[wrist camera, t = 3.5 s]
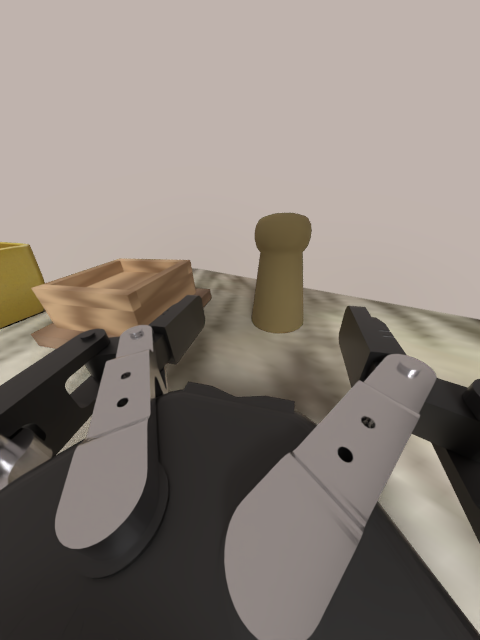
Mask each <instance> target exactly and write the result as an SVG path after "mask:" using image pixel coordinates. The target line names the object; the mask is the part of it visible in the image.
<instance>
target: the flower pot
mask: <svg viewBox="0 0 480 640" xmlns="http://www.w3.org/2000/svg"><path fill="white" fill-rule="evenodd" d="M42 284H45V282H44V279H43V277H42V274H41V271H40V269H39V266H38V264H37V262H36V259H35V257H34V254H33V252H32V249H31V247H30V245H29V244H21V243H7V242H0V328H2V327H5V326H7V325H9V324H12V323H14V322H17V321H19V320H22V319H24V318H27V317H30V316H32V315H35V314H38V313H40V312H42V311H43V310H44V307H43V306H42V304H41V303H40V301H39V300H38V298H37V297H36V295H35V293H34V292H33V290H32V289H31V288H33V287H36V286H39V285H42Z"/></svg>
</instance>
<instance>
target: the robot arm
mask: <svg viewBox="0 0 480 640" xmlns="http://www.w3.org/2000/svg"><path fill="white" fill-rule="evenodd" d="M204 324H205V316H204V310H203V303H202V299H201V297H200V296H198V295H186V296H185V297H184V298H183V299H182V300H181V301H179V302H178V303H176V304H174V305H172V306H170V307H169V308H168V309H167V310H166V311H165V312H163V313H162V315H160V316H159V317H157V318H156V319H155V320H154V321H153V322H151V323H150V324H149V325H138V326H134V327H131V328H129V329H127V330H126V331H124V332H123V333H122V334H121V336H120V337H108V335H107V333H106V331H105V330H104V329H92V330H88V331H85V332H83V333H80V334H78V335H77V336H75V337H74V338H72V339H71V340H69V341H68V342H66V343H65V344H63V345H62V346H60V347H59V348H57V349H56V350H54V351H52V352H51V353H49V354H48V355H46V356H45V357H43V358H42V359H40V360H39V361H37V362H36V363H34V364H33V365H31V366H30V367H28V368H27V369H25V370H24V371H22V372H21V373H19V374H18V375H16V376H14V377H13V378H11V379H10V380H8V381H7V382H5V383H4V384H2V385H1V386H0V640H480V634H479V633H478V631H477V630H476V629H475V628H474V626H473V625H472V624H471V622H470V621H469V620H468V618H467V617H466V616H465V615H464V613H463V612H462V611H461V609H460V608H459V607H458V605H457V604H456V603H455V601H454V600H453V599H452V598H451V596H450V595H449V594H448V592H447V591H446V590H445V588H444V587H443V586H442V584H441V583H440V582H439V581H438V579H437V578H436V577H435V575H434V574H433V573H432V571H431V570H430V569H429V568H428V566H427V565H426V564H425V562H424V561H423V560H422V558H421V557H420V556H419V554H418V553H417V552H416V551H415V549H414V548H413V547H412V545H411V544H410V543H409V541H408V540H407V539H406V537H405V536H404V535H403V534H402V532H401V531H400V530H399V528H398V527H397V526H396V524H395V523H394V522H393V521H392V519H391V518H390V517H389V515H388V514H387V513H386V511H385V510H384V509H383V507H382V506H381V505H380V504H379V502H378V499H379V497H380V495H381V493H382V491H383V489H384V487H385V485H386V483H387V481H388V479H389V477H390V475H391V473H392V471H393V469H394V467H395V465H396V463H397V461H398V459H399V457H400V455H401V453H402V451H403V449H404V447H405V445H406V443H407V441H408V439H409V437H410V436H411V434H414V435H416V436H418V437H421V438H423V439H425V440H427V441H430V442H431V443H432V445H433V447H434V449H435V451H436V453H437V455H438V458H439V460H440V462H441V464H442V466H443V468H444V470H445V472H446V474H447V476H448V478H449V480H450V483H451V485H452V487H453V489H454V491H455V493H456V495H457V497H458V499H459V501H460V503H461V506H462V508H463V510H464V512H465V514H466V516H467V518H468V520H469V522H470V524H471V526H472V529H473V531H474V533H475V535H476V537H477V539H478V541H479V543H480V379H477V380H475V381H474V382H473V383H472V384H471V385H470V386H469V387H468V388H467V387H464V386H461V385H457V384H454V383H451V382H448V381H444V380H441V379H438V378H437V377H436V374H435V372H434V371H433V370H432V369H431V368H430V367H429V366H428V365H427V364H425V363H424V362H422V361H420V360H418V359H416V358H413V357H410V356H407V355H406V353H405V352H404V351H403V349H402V348H401V346H400V345H399V343H398V342H397V340H396V339H395V338H394V336H393V335H392V333H391V332H390V330H389V329H388V327H387V326H386V324H385V323H383V322H382V321H380V320H379V319H377V318H374V317H371V316H370V314H369V312H368V311H367V309H366V308H365V307H357V306H347V308H346V310H345V313H344V317H343V321H342V324H341V328H340V332H339V345H340V348H341V352H342V355H343V359H344V363H345V366H346V370H347V373H348V377H349V380H350V384H351V389H350V390H349V391H348V393H347V394H346V395H345V396H344V397H343V398H342V399H341V400H340V401H339V402H338V403H337V405H336V406H335V407H334V408H333V409H332V410H331V411H330V412H329V413H328V414H327V415H326V417H325V418H324V419H323V420H322V421H321V422H320V423H319V424H318V425H316V424H315V423H314V422H313V421H311V420H310V419H309V418H307V417H306V416H304V415H302V414H300V413H298V412H296V411H294V401H290V400H285V399H280V398H274V397H269V396H251V397H235V396H232V395H230V394H228V393H226V392H224V391H222V390H219V389H217V388H215V387H213V386H209V385H204V384H198V383H193V382H188V383H187V385H186V386H185V388H184V390H177V391H172V392H169V389H168V381H167V373H166V368H165V365H166V364H167V363H170V364H177V363H178V361H179V360H180V359H181V357H182V356H183V355H184V353H185V352H186V351H187V349H188V348H189V346H190V345H191V344H192V342H193V341H194V340H195V338H196V337H197V336H198V334H199V333H200V332H201V330H202V329H203V327H204ZM83 365H85V366H86V368H87V369H88V371H89V372H90V374H91V376H90V377H89V378H88V379H87V380H85V381H84V382H83V383H82V384H81V385H80V386H79V387H78V388H77V389H76V390H75V391H73V392H72V393H71V394H70V395H69V393H68V392H67V391H66V389H65V383H66V381H67V379H68V378H69V377H70V376H71V375H72V374H74V373H75V372H76V371H77V370H79V369H80V368H81V367H82V366H83ZM91 415H92V418H91V422H90V426H89V430H88V434H87V436H86V438H85V439H83V440H82V441H80V442H78V443H77V444H75V445H73V446H71V447H70V448H68V449H66V450H64V451H63V452H61V453H59V454H58V455H56V454H57V453H58V452H59V451H60V450H61V449H62V448H63V447H64V445H65V444H66V443H67V442H68V441H69V440H70V439H71V438H72V436H73V435H74V434H75V433H76V432H77V431H78V430H79V429H80V428H81V426H82V425H83V424H84V423H85V422H86V421H87V420H88V419H89V417H90V416H91Z"/></svg>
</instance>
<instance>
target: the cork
mask: <svg viewBox="0 0 480 640" xmlns="http://www.w3.org/2000/svg"><path fill="white" fill-rule="evenodd" d="M311 231H312V230H311V223H310V221H309V219H308V218H307V217H306V216H303V215H300V214H295V213H276V214H272V215H268V216H265V217H263V218H261V219H260V220H259V221H258V223H257V225H256V229H255V242H256V246H257V248H258V250H259V251H260V252H261V253H260V259H259V267H258V275H257V282H256V289H255V297H254V304H253V312H252V322H253V324H254V325H255V326H256V327H258V328H259V329H261V330H264V331H266V332H271V333H288V332H292V331H295V330H297V329H299V328H300V327H301V326H302V325H303V251H304V250H305V249H306V248H307V246H308V244H309V241H310V238H311Z"/></svg>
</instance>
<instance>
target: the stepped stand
mask: <svg viewBox="0 0 480 640" xmlns="http://www.w3.org/2000/svg"><path fill="white" fill-rule="evenodd" d="M31 289H32V290H33V292H34V293H35V295H36V297H37V298H38V300H39V301H40V303H41V304H42V306H43V307H44V309H45V310H46V312H47V313H48V315H49V317H50V318H51V320H52V321H53V323H52V324H50V325H48V326H46V327H44V328H42V329H40V330H38V331H36V332H34V333H32V334H31V335H32V337H33V338H34V339H35V341H36V342H37V343H38V345H39V346H44V347H50V348H56V349H57V348H59V347H60V346H62V345H63V344H65V343H66V342H68V341H69V340H71V339H72V338H74V337H75V336H77V335H78V334H80V333H83V332H85V331H88V330H92V329H104V330H105V331H106V333H107V335H108V337H120V336H121V334H122V333H123V332H124V331H126V330H127V329H129V328H131V327H134V326H138V325H149V324H150V323H151V322H153V321H154V320H155V319H156V318H157V317H159V316H160V315H162V313H163V312H165V311H166V310H167V309H168V308H169V307H170V306H172V305H174V304H176V303H178V302H179V301H181V300H182V299H183V298H184V297H185V296H186V295H198V296H200V297H201V299H202V303H203V308H204V306H205V305H206V304H207V303H208V302H209V301H210V300H211V293H210V289H198V288H195V284H194V279H193V273H192V268H191V262H190V260H161V259H117V260H114V261H111V262H108V263H105V264H102V265H99V266H96V267H93V268H90V269H87V270H84V271H81V272H78V273H75V274H72V275H69V276H66V277H63V278H60V279H57V280H54V281H51V282H48V283H45V284H42V285H39V286H36V287H33V288H31Z"/></svg>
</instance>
